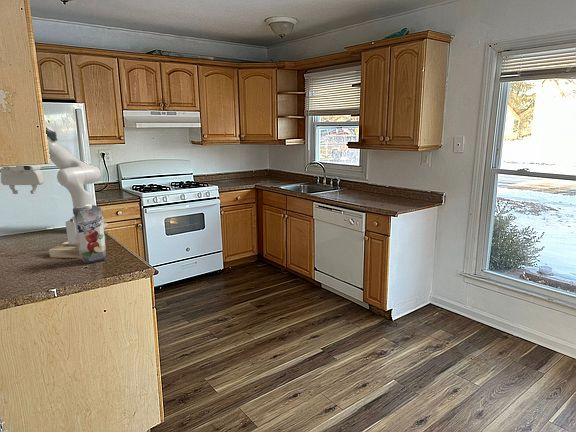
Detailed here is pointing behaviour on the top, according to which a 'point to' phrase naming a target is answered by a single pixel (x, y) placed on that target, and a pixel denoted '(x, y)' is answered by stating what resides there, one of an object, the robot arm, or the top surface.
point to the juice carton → (90, 233)
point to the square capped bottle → (71, 232)
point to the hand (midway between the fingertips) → (24, 193)
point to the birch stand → (65, 251)
